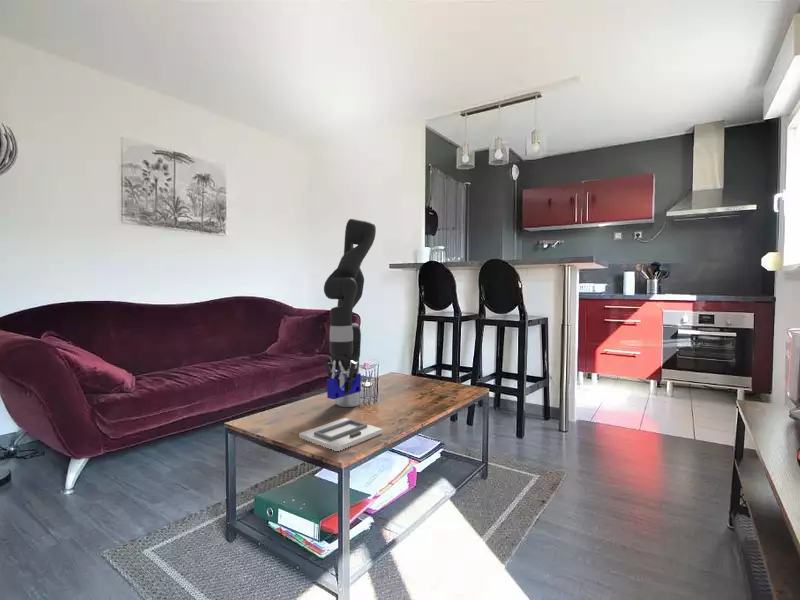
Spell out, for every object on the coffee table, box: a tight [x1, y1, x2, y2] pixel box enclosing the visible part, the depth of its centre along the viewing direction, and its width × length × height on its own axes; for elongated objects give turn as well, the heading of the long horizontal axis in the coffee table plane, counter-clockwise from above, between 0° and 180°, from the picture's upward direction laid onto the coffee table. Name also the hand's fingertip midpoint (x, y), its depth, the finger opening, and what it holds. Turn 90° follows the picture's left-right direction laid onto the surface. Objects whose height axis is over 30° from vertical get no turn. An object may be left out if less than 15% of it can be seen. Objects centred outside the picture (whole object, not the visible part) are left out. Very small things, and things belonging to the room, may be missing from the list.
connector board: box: [298, 417, 383, 452], centre depth 138 cm, size 18×20×2 cm
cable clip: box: [326, 372, 362, 400], centre depth 137 cm, size 12×4×6 cm, turn 141°
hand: (342, 391), depth 137 cm, fingers closed on cable clip, 4 cm apart
